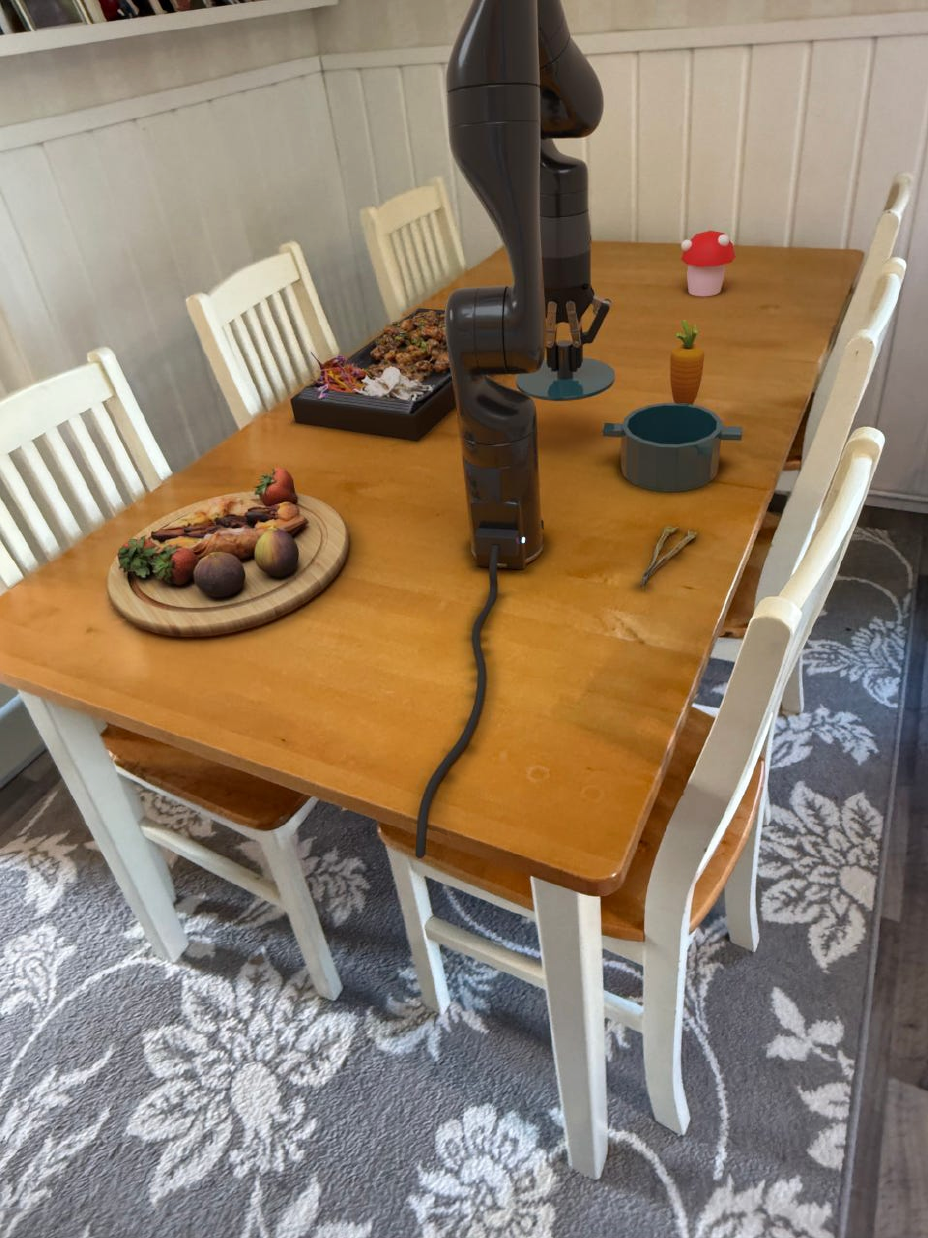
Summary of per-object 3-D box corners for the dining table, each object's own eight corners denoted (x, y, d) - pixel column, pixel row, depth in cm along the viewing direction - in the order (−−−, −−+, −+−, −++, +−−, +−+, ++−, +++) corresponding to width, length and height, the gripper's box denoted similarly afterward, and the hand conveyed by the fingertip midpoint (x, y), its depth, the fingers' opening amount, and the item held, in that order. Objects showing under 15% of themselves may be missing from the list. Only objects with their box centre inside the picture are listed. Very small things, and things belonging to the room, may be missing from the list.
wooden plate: (249, 483, 132) (235, 434, 127) (399, 541, 115) (390, 488, 110) (64, 587, 114) (39, 535, 109) (210, 676, 97) (189, 619, 92)
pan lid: (608, 406, 120) (609, 363, 116) (507, 404, 123) (504, 362, 119) (620, 364, 130) (621, 324, 127) (526, 363, 134) (524, 324, 130)
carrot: (699, 423, 133) (707, 328, 124) (667, 423, 134) (672, 329, 125) (699, 409, 137) (706, 316, 128) (667, 409, 138) (672, 317, 129)
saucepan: (737, 495, 116) (742, 448, 112) (597, 488, 121) (597, 444, 116) (738, 448, 126) (743, 404, 122) (609, 444, 131) (609, 401, 127)
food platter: (417, 441, 138) (409, 380, 131) (295, 422, 148) (281, 365, 141) (529, 339, 168) (526, 285, 162) (421, 329, 178) (415, 278, 172)
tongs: (632, 585, 102) (633, 571, 101) (666, 534, 111) (667, 520, 110) (666, 593, 101) (667, 579, 99) (698, 540, 110) (699, 526, 108)
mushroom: (668, 290, 182) (671, 230, 175) (710, 278, 186) (715, 219, 178) (699, 302, 175) (704, 241, 167) (742, 290, 178) (749, 229, 170)
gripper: (506, 256, 114) (513, 379, 124) (611, 253, 110) (609, 380, 121) (517, 239, 119) (523, 359, 130) (617, 236, 116) (615, 359, 126)
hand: (565, 369), depth 125 cm, fingers closed on pan lid, 2 cm apart
